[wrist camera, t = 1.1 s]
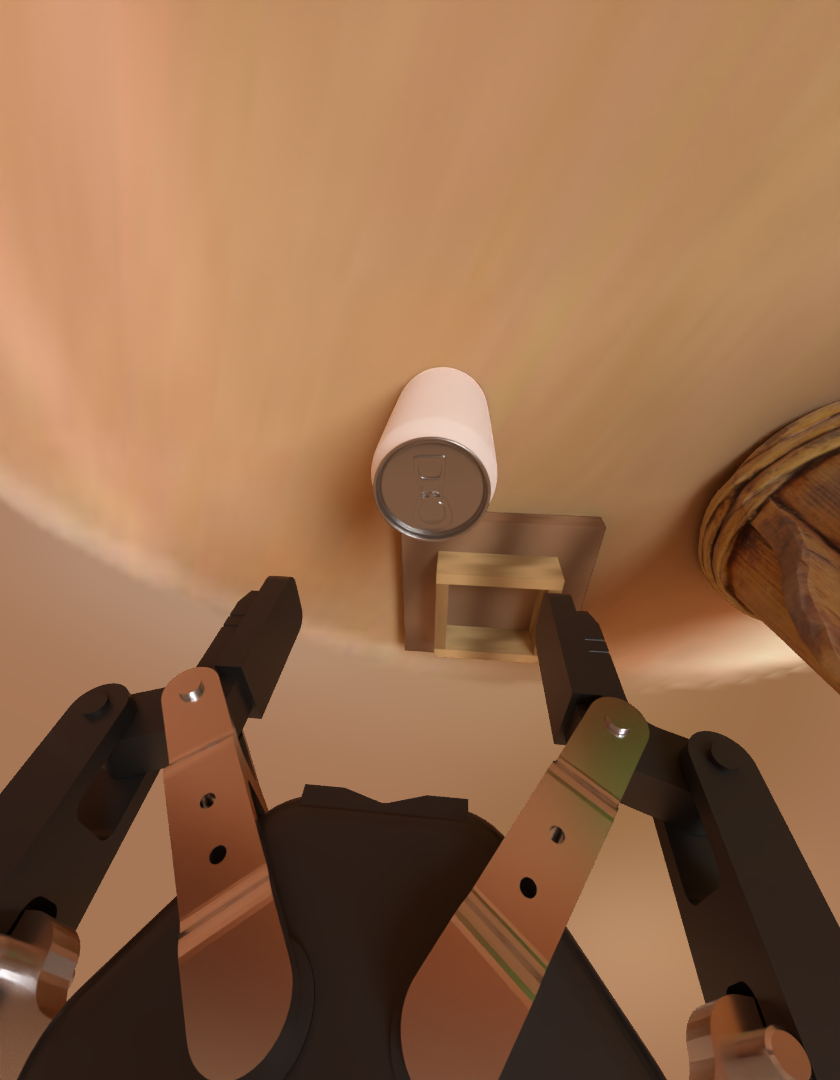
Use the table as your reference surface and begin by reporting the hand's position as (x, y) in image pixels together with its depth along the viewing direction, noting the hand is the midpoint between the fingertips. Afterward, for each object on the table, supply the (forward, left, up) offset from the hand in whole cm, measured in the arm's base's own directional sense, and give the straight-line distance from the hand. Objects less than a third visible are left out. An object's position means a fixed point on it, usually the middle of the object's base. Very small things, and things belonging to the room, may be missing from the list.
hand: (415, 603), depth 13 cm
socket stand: (-5, +16, -20) cm, 26 cm away
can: (0, 0, -20) cm, 20 cm away
